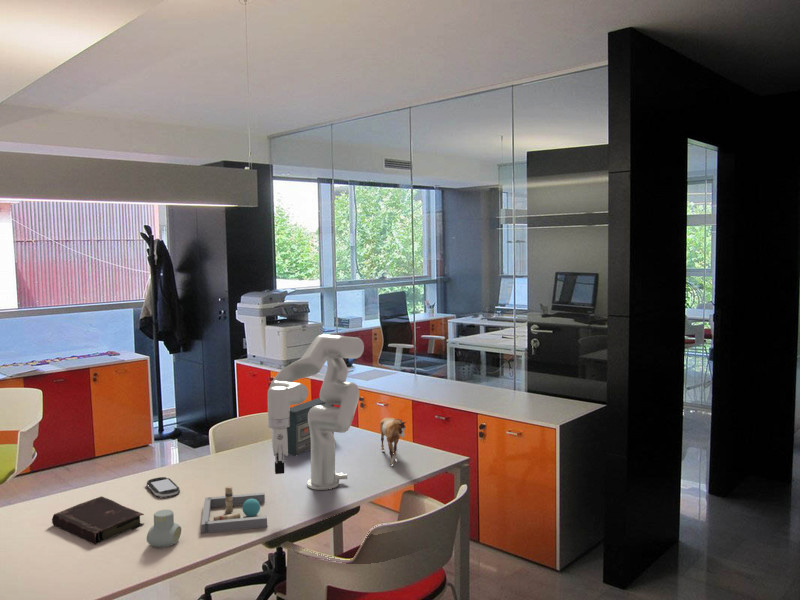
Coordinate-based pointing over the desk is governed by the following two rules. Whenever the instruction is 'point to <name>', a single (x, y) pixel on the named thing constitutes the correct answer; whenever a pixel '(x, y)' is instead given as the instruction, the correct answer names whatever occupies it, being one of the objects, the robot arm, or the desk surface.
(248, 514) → the ball
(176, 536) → the air freshener
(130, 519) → the diary
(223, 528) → the pin pen
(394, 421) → the horse figurine
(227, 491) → the back pin
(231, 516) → the front pin
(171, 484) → the gaming console
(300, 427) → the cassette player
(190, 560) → the desk surface
